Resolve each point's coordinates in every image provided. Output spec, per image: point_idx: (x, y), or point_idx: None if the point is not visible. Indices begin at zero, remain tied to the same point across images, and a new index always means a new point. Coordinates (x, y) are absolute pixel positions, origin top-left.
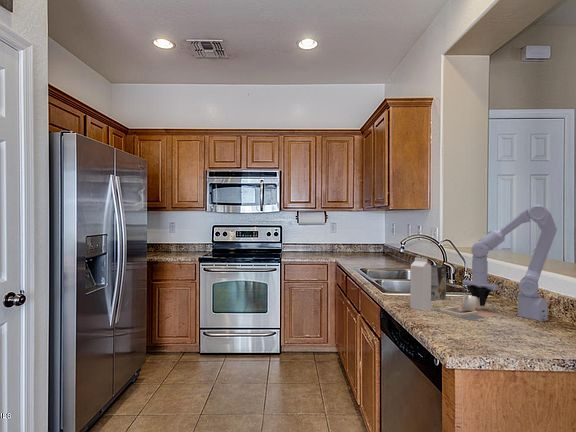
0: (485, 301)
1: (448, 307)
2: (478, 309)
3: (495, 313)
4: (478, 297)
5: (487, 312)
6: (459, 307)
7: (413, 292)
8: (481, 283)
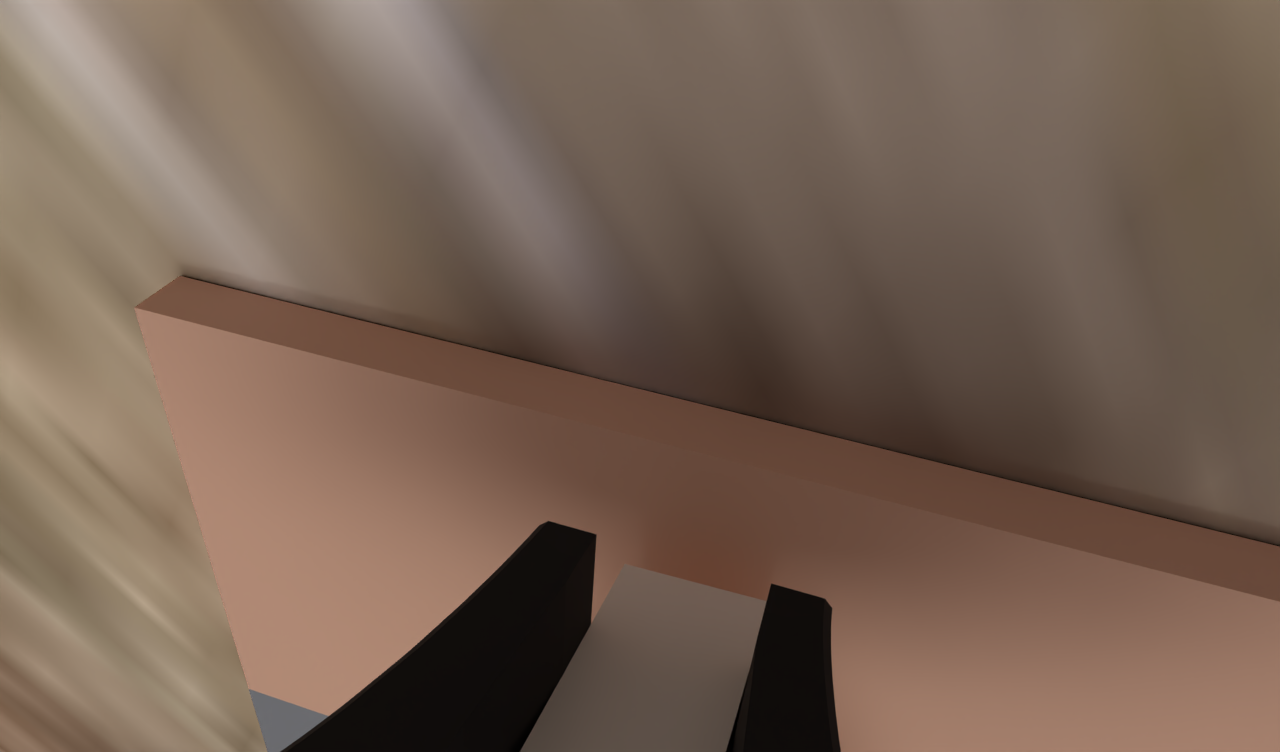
0: (832, 741)
1: (254, 672)
2: (667, 476)
3: (1268, 635)
4: (477, 742)
5: (1015, 643)
6: (315, 557)
7: None
8: None
